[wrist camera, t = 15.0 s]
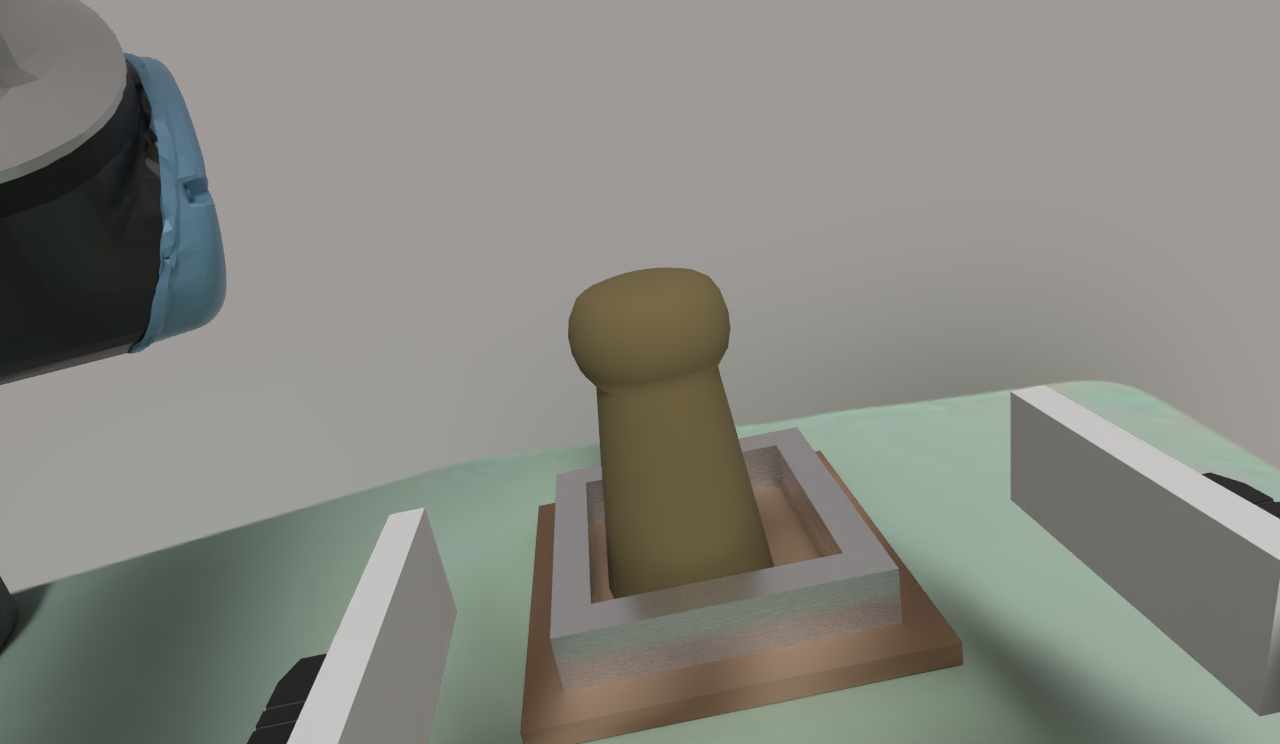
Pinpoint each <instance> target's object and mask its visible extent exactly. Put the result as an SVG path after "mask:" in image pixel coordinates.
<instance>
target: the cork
mask: <svg viewBox="0 0 1280 744" xmlns="http://www.w3.org/2000/svg"><path fill="white" fill-rule="evenodd" d="M729 334H730V323H729V314H728V309H727V307H726V304H725V302H724V299H723V297H722V294H721V292H720V289H719V288H718V287H717V286H716V284H715V283H714V282H713V281H712V279H711V278H710V277H709V276H707V275H704V274H702V273H700V272H697V271H695V270H692V269H683V268H653V269H644V270H638V271H633V272H629V273H624V274H621V275H618V276H615V277H612V278H609V279H607V280H604V281H602V282H599V283H597V284H595V285H592V286H591V287H589V288H588V289H586V290H585V291H584V292H583V293H582V294H581V295H580V296H579V297H577V299H576V301H575V304H574V307H573V309H572V312H571V315H570V318H569V330H568V338H569V342H570V347H571V351H572V355H573V357H574V359H575V361H576V363H577V365H578V367H579V369H580V371H581V372H582V373H583V374H584V375H585V377H587V378H588V379H589V380H590V381H591V382H592V383H593V384H594V385H595V386H596V387H597V401H598V402H597V403H598V419H599V435H600V451H601V466H602V482H603V498H604V514H605V530H606V546H607V561H608V577H609V589H610V591H611V593H612V595H613V597H614V599H617V598H622V597H627V596H632V595H637V594H642V593H647V592H652V591H657V590H662V589H667V588H672V587H677V586H682V585H687V584H692V583H697V582H702V581H707V580H712V579H717V578H722V577H727V576H732V575H737V574H742V573H747V572H752V571H757V570H762V569H767V568H772V567H774V563H773V559H772V556H771V552H770V549H769V545H768V542H767V538H766V535H765V531H764V528H763V524H762V521H761V517H760V514H759V510H758V507H757V503H756V500H755V496H754V492H753V489H752V485H751V482H750V478H749V475H748V471H747V468H746V464H745V461H744V457H743V454H742V450H741V447H740V443H739V440H738V436H737V433H736V429H735V426H734V422H733V419H732V415H731V411H730V408H729V405H728V401H727V397H726V394H725V391H724V387H723V384H722V380H721V376H720V373H719V369H718V365H719V363H720V361H721V359H722V357H723V355H724V353H725V351H726V350H727V348H728V342H729Z"/></svg>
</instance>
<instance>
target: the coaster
mask: <svg viewBox="0 0 1280 744" xmlns="http://www.w3.org/2000/svg"><path fill="white" fill-rule="evenodd" d="M738 440H739V443H740V447H741V450H742V454H743V457H744V461H745V464H746V468H747V471H748V475H749V478H750V482H751V485H752V489H753V492H754V496H755V500H756V503H757V507H758V510H759V514H760V517H761V521H762V524H763V528H764V531H765V535H766V538H767V542H768V545H769V549H770V552H771V556H772V559H773V563H774V567H772V568H767V569H762V570H757V571H752V572H747V573H742V574H737V575H732V576H727V577H722V578H717V579H712V580H707V581H702V582H697V583H692V584H687V585H682V586H677V587H672V588H667V589H662V590H657V591H652V592H647V593H642V594H637V595H632V596H627V597H622V598H617V599H614V597H613V595H612V593H611V591H610V589H609V577H608V561H607V546H606V530H605V514H604V498H603V482H602V466H598V467H592V468H587V469H582V470H577V471H572V472H567V473H562V474H557V477H556V502H555V503H552V504H547V505H542V506H539V513H538V525H537V538H536V550H535V562H534V575H533V587H532V599H531V611H530V624H529V636H528V648H527V660H526V673H525V685H524V697H523V709H522V722H521V736H522V739H523V743H524V744H578V743H582V742H587V741H592V740H597V739H602V738H607V737H612V736H616V735H621V734H626V733H631V732H636V731H641V730H646V729H651V728H655V727H660V726H665V725H670V724H675V723H680V722H685V721H689V720H694V719H699V718H704V717H709V716H714V715H719V714H723V713H728V712H733V711H738V710H743V709H748V708H753V707H757V706H762V705H767V704H772V703H777V702H782V701H787V700H792V699H796V698H801V697H806V696H811V695H816V694H821V693H826V692H830V691H835V690H840V689H845V688H850V687H855V686H860V685H864V684H869V683H874V682H879V681H884V680H889V679H894V678H898V677H903V676H908V675H913V674H918V673H923V672H928V671H932V670H937V669H942V668H947V667H952V666H957V665H962V664H963V659H962V642H961V640H960V639H959V638H958V636H957V635H956V634H955V632H954V631H953V630H952V628H951V627H950V626H949V624H948V623H947V621H946V620H945V619H944V617H943V616H942V615H941V613H940V612H939V611H938V609H937V608H936V607H935V605H934V604H933V603H932V601H931V600H930V599H929V597H928V596H927V594H926V593H925V592H924V590H923V589H922V588H921V586H920V585H919V584H918V582H917V581H916V580H915V578H914V577H913V576H912V574H911V573H910V571H909V570H908V569H907V567H906V566H905V565H904V563H903V562H902V561H901V559H900V558H899V557H898V555H897V554H896V553H895V551H894V550H893V548H892V547H891V546H890V544H889V543H888V542H887V540H886V539H885V538H884V536H883V535H882V534H881V532H880V531H879V530H878V528H877V527H876V526H875V524H874V523H873V521H872V520H871V519H870V517H869V516H868V515H867V513H866V512H865V511H864V509H863V508H862V507H861V505H860V504H859V503H858V501H857V500H856V498H855V497H854V496H853V494H852V493H851V492H850V490H849V489H848V488H847V486H846V485H845V484H844V482H843V481H842V480H841V478H840V477H839V476H838V474H837V473H836V471H835V470H834V469H833V467H832V466H831V465H830V463H829V462H828V461H827V459H826V458H825V457H824V455H823V454H822V453H821V451H816V452H814V450H813V449H812V448H811V446H810V445H809V443H808V442H807V441H806V439H805V438H804V436H803V435H802V434H801V432H800V431H799V430H798V428H797V427H796V428H791V429H786V430H781V431H776V432H771V433H766V434H761V435H756V436H750V437H745V438H740V439H738Z"/></svg>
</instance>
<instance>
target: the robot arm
mask: <svg viewBox="0 0 1280 744" xmlns="http://www.w3.org/2000/svg"><path fill="white" fill-rule="evenodd" d="M207 189H208V180H207V177H206V173H205V166H204V160H203V157H202V153H201V149H200V146H199V142H198V139H197V136H196V133H195V130H194V127H193V124H192V121H191V118H190V115H189V112H188V109H187V107H186V104H185V101H184V99H183V97H182V94H181V92H180V90H179V88H178V86H177V84H176V82H175V79H174V77H173V76H172V74H171V72H170V71H169V70H168V68H167V67H166V66H165V65H164V64H163V63H161V62H160V61H158V60H156V59H152V58H149V57H138V56H136V55H132V54H128V53H123V51H122V48H121V46H120V44H119V42H118V40H117V38H116V36H115V34H114V33H113V31H112V30H111V29H110V28H109V27H108V25H107V24H106V23H105V21H104V20H103V19H102V18H101V17H100V16H99V15H98V14H97V13H96V12H95V11H93V10H92V9H91V8H89V7H88V6H86V5H85V4H84V3H82V2H81V1H80V0H0V385H2V384H6V383H10V382H14V381H18V380H22V379H26V378H30V377H34V376H38V375H42V374H46V373H49V372H54V371H58V370H61V369H65V368H69V367H73V366H77V365H81V364H85V363H89V362H93V361H97V360H101V359H105V358H109V357H113V356H117V355H121V354H125V353H130V354H131V353H136V352H139V351H142V350H144V349H145V348H147V347H148V346H149V345H150V344H151V343H154V342H157V341H161V340H164V339H167V338H170V337H172V336H176V335H179V334H182V333H185V332H188V331H191V330H195V329H197V328H200V327H202V326H204V325H206V324H207V323H209V322H210V321H211V320H212V319H213V318H214V317H215V316H216V315H217V314H218V312H219V311H220V309H221V307H222V305H223V303H224V299H225V295H226V267H225V258H224V251H223V245H222V238H221V233H220V227H219V222H218V218H217V214H216V210H215V205H214V202H213V199H212V197H211V195H210V193H209V191H208V190H207ZM1011 500H1012V501H1013V502H1014V503H1015V504H1016V505H1018V506H1019V507H1020V508H1021V509H1022V510H1023V511H1025V512H1026V513H1027V514H1028V515H1029V516H1030V517H1031V518H1033V519H1034V520H1035V521H1036V522H1037V523H1038V524H1039V525H1041V526H1042V527H1043V528H1044V529H1045V530H1046V531H1047V532H1049V533H1050V534H1051V535H1052V536H1053V537H1054V538H1056V539H1057V540H1058V541H1059V542H1060V543H1061V544H1062V545H1064V546H1065V547H1066V548H1067V549H1068V550H1069V551H1070V552H1072V553H1073V554H1074V555H1075V556H1076V557H1077V558H1078V559H1080V560H1081V561H1082V562H1083V563H1084V564H1085V565H1087V566H1088V567H1089V568H1090V569H1091V570H1092V571H1093V572H1095V573H1096V574H1097V575H1098V576H1099V577H1100V578H1101V579H1103V580H1104V581H1105V582H1106V583H1107V584H1108V585H1109V586H1111V587H1112V588H1113V589H1114V590H1115V591H1116V592H1118V593H1119V594H1120V595H1121V596H1122V597H1123V598H1124V599H1126V600H1127V601H1128V602H1129V603H1130V604H1131V605H1132V606H1134V607H1135V608H1136V609H1137V610H1138V611H1139V612H1141V613H1142V614H1143V615H1144V616H1145V617H1146V618H1147V619H1149V620H1150V621H1151V622H1152V623H1153V624H1154V625H1155V626H1157V627H1158V628H1159V629H1160V630H1161V631H1162V632H1163V633H1165V634H1166V635H1167V636H1168V637H1169V638H1170V639H1172V640H1173V641H1174V642H1175V643H1176V644H1177V645H1178V646H1180V647H1181V648H1182V649H1183V650H1184V651H1185V652H1186V653H1188V654H1189V655H1190V656H1191V657H1192V658H1193V659H1194V660H1196V661H1197V662H1198V663H1199V664H1200V665H1201V666H1203V667H1204V668H1205V669H1206V670H1207V671H1208V672H1209V673H1211V674H1212V675H1213V676H1214V677H1215V678H1216V679H1217V680H1219V681H1220V682H1221V683H1222V684H1223V685H1224V686H1225V687H1227V688H1228V689H1229V690H1230V691H1231V692H1232V693H1234V694H1235V695H1236V696H1237V697H1238V698H1239V699H1240V700H1242V701H1243V702H1244V703H1245V704H1246V705H1247V706H1248V707H1250V708H1251V709H1252V710H1253V711H1254V712H1255V713H1256V714H1258V715H1259V716H1263V715H1268V714H1273V713H1277V712H1280V502H1274V501H1273V498H1271V497H1269V496H1267V495H1265V494H1264V493H1262V492H1260V491H1258V490H1256V489H1254V488H1253V487H1251V486H1249V485H1247V484H1245V483H1242V482H1239V481H1236V480H1232V479H1229V478H1226V477H1223V476H1220V475H1216V474H1213V473H1206V474H1200V473H1198V472H1196V471H1194V470H1193V469H1191V468H1189V467H1187V466H1186V465H1184V464H1182V463H1180V462H1179V461H1177V460H1175V459H1173V458H1172V457H1170V456H1168V455H1166V454H1164V453H1163V452H1161V451H1159V450H1157V449H1156V448H1154V447H1152V446H1150V445H1149V444H1147V443H1145V442H1143V441H1142V440H1140V439H1138V438H1136V437H1135V436H1133V435H1131V434H1129V433H1128V432H1126V431H1124V430H1122V429H1121V428H1119V427H1117V426H1115V425H1113V424H1112V423H1110V422H1108V421H1106V420H1105V419H1103V418H1101V417H1099V416H1098V415H1096V414H1094V413H1092V412H1091V411H1089V410H1087V409H1085V408H1084V407H1082V406H1080V405H1078V404H1077V403H1075V402H1073V401H1071V400H1070V399H1068V398H1066V397H1064V396H1062V395H1061V394H1059V393H1057V392H1055V391H1054V390H1052V389H1050V388H1048V387H1047V386H1045V385H1042V386H1037V387H1031V388H1026V389H1021V390H1016V391H1011ZM456 614H457V610H456V606H455V603H454V600H453V597H452V594H451V590H450V587H449V584H448V581H447V578H446V574H445V571H444V568H443V565H442V562H441V558H440V555H439V552H438V549H437V545H436V542H435V539H434V536H433V533H432V529H431V526H430V523H429V520H428V517H427V513H426V510H425V508H420V509H415V510H410V511H405V512H400V513H395V514H390V515H389V517H388V519H387V522H386V524H385V526H384V528H383V531H382V533H381V535H380V537H379V540H378V542H377V544H376V546H375V548H374V551H373V553H372V555H371V557H370V560H369V562H368V564H367V566H366V568H365V571H364V573H363V575H362V577H361V580H360V582H359V584H358V586H357V588H356V591H355V593H354V595H353V597H352V600H351V602H350V604H349V606H348V609H347V611H346V613H345V615H344V617H343V620H342V622H341V624H340V626H339V629H338V631H337V633H336V635H335V637H334V640H333V642H332V644H331V646H330V649H329V651H328V653H327V654H322V655H317V656H313V657H308V658H303V659H300V660H299V661H298V662H297V663H296V664H295V665H294V666H293V668H292V669H291V670H290V671H289V672H288V673H287V674H286V675H285V676H284V677H283V678H282V679H281V680H280V681H279V682H278V684H277V686H276V688H275V690H274V692H273V694H272V696H271V698H270V700H269V702H268V704H267V706H266V711H263V713H262V715H261V717H260V719H259V721H258V723H257V725H256V731H253V733H252V735H251V737H250V739H249V741H248V743H247V744H427V742H428V738H429V733H430V729H431V725H432V720H433V716H434V711H435V707H436V702H437V698H438V694H439V689H440V685H441V680H442V676H443V671H444V667H445V663H446V658H447V654H448V649H449V645H450V640H451V636H452V632H453V627H454V623H455V618H456ZM16 619H17V606H16V603H15V602H14V600H13V598H12V596H11V595H10V593H9V591H8V589H7V587H6V586H5V584H4V582H3V580H2V578H1V577H0V647H1V646H2V644H3V643H4V642H5V640H6V639H7V638H8V636H9V634H10V633H11V631H12V629H13V627H14V625H15V622H16Z"/></svg>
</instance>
